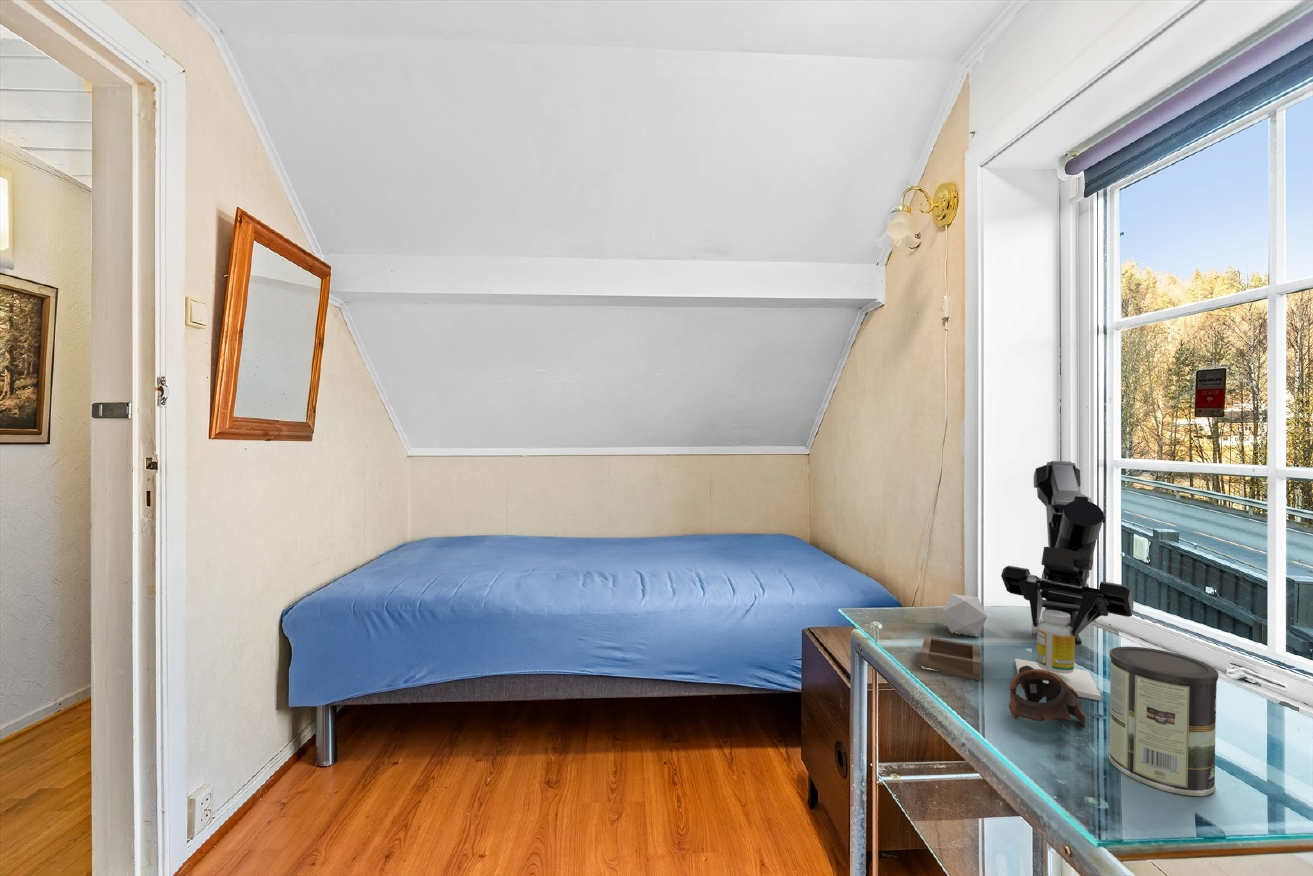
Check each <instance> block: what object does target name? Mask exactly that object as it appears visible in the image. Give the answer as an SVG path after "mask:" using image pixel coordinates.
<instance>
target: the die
mask: <svg viewBox="0 0 1313 876" xmlns="http://www.w3.org/2000/svg"><path fill="white" fill-rule="evenodd" d="M979 599H980V598H979V597H978V596H969V595H962V594H954V593H951V594H950V596H949V598H948V599H947V602H946V604H945V606H944V608H943V610H942V615H943V618H944V621H945V623H946V625H947V627H948V630H949V632H950V631H951V632H957V633H960V634H964V635H963V636H967V635H969V637H974V636H975V637H974V638H978V637H979V635H980V634H981V631H982V629H983V627H984V625H985V623H986V620H987V618H988V616H987V614H986V611H985V609H984V607H983V606H982V604H981V602H980V601H981V600H979ZM960 634H959V635H960Z"/></svg>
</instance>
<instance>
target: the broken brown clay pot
mask: <svg viewBox="0 0 1313 876" xmlns="http://www.w3.org/2000/svg"><path fill="white" fill-rule="evenodd" d="M1018 672H1019V674H1016V675H1015V676H1013V677H1012V679H1011V681H1010V683H1009V699H1010V700H1009V704H1008V709H1009V712H1010V715H1011V716H1012V718H1013V719H1014V720H1018V718H1021V719H1024V720H1025V719H1026V720H1029V721H1034V722H1039V723H1040V722H1042V723H1043V722H1045V721H1048V722H1050V721H1055V720H1059V719H1060V720H1061V719H1064V720H1067V721H1072V718H1071V716H1070V715H1072V716H1073V717H1074V718H1076V719H1077V720H1078V722H1079V723H1080V724H1081V726H1082V727H1083V728H1085V727H1086V715H1085V713H1084V711H1083V710H1082V708H1081V707H1082V706H1081V701H1080V700H1079V699H1078V694H1077V693H1076V691H1075V690H1074V689H1073V688H1072V687H1071V686H1069V685H1068V684H1067V683H1065V682H1064V681H1063V680H1062V679H1061V678H1060V677H1059V676H1058V675H1056V674H1054V673H1051V672H1050V671H1046V670H1041V669H1034V668H1032V667H1030V666H1027V665H1025V666H1023V667H1021V668H1020V669H1019V670H1018ZM1043 680H1045V681H1049V683H1048V684H1047V683H1044V682H1043ZM1020 684H1021V685H1020ZM1018 686H1021V689H1022V690H1023V693H1024V697H1025V698H1023V697H1022V696H1021V695H1020V694H1018V693H1017V691H1018V690H1017V689H1018ZM1044 698H1045V702H1041V701H1042V700H1043V699H1044Z"/></svg>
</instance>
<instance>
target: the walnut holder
mask: <svg viewBox="0 0 1313 876" xmlns="http://www.w3.org/2000/svg"><path fill="white" fill-rule="evenodd" d="M981 658H982V657H981V645H978V644H971V643H967V642H961V641H954V640H950V639H949V640H948V639H942V638H938V637H937V638H936V637H931V636H926V635H925V636H923V642H922V647H921V651H920V667H921V666H923V667H925V668H931V669H934V670H937V671H939V672H938V673H940V672H943V673H942V674H945V673H948V674H947V675H950V674H951V676H954V677H955V676H956V677H961V678H966V679H971V680H972V679H973V680H976V681H981V680H982V679H981V676H982V659H981Z"/></svg>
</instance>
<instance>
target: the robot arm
mask: <svg viewBox="0 0 1313 876" xmlns="http://www.w3.org/2000/svg"><path fill="white" fill-rule="evenodd" d="M1080 487H1082V486H1081V470H1080V469H1079V468H1078V467H1076V462H1072V461H1063V460H1062V461H1060V460H1059V461H1057V460H1056V461H1055V460H1051V461H1047V463H1046V464H1045V465H1042V466H1038V467H1036V468H1035V470H1034V473H1033V488H1034V489H1035V488H1036V492H1037V493H1036V494H1037V498H1038V499H1039V501H1041V503H1042V504H1043V505H1044V506H1045V508H1046V509H1045V510H1046V526H1047V527H1046V528H1047V542H1048V543H1047V544H1048V546H1044V547H1043V550H1042V551H1043V552H1042V558H1041V565H1042V566H1043V571H1042V574H1041V577H1039V576H1038V575H1035V574H1031V571H1030V569H1029V568H1025V567H1019V566H1013V565H1006V566H1005V567H1004V568H1003V569H1002V571H1001V575H1000V577H1001V580H1002V582H1003V584H1004V586H1005V589H1006V592H1007V593H1010V594H1012V595H1016V596H1017V595H1018V596H1020V597H1021V596H1022V597H1023V599H1024V600H1026V601H1029V606H1030V612H1031V620H1032V622H1031V623H1032V626H1033V628H1037V627H1038V624H1039V623H1040V618H1041V613H1042V611H1043V610H1042V609H1043V608H1044V610H1057V611H1062V612H1065V613H1068V614H1070V616H1071V622H1070V624H1068V625H1069V626H1071V627H1072V628H1073V629H1072V635H1073V636H1075V644H1082V643H1083V640H1082V638H1081V637H1080V633H1081V632H1082V631H1084V629H1085V628H1087V626H1089V625H1090V624H1091V623H1093V622H1094V621H1096V620H1097V619H1098V618H1099V617H1101V616H1102V617H1108V616H1109V614H1112V615H1116V616H1122V617H1127V618H1129V617H1133V612H1134V605H1135V604H1134V598H1133V595H1132V589H1130V587H1129V586H1128V585H1126V584H1120V583H1119V584H1118V583H1113V582H1107V581H1100V582H1099V586H1098V588H1096V587H1095V588H1094V587H1090V586H1089V583H1087V582H1088V579H1089V577H1090V574H1091V573H1090V571H1092V570H1093V565H1094V564H1093V563H1094V553H1095V549H1096V548H1095V547H1096V544H1097V540H1098V538H1099V535H1100V531H1101V528H1102V524H1103V523H1104V524H1105V523H1106V516H1105V513H1104V511H1103V510H1102V508H1101V507H1099V505H1097V504H1096V503H1094V502H1093V501H1092V498H1091V497H1089V496H1087V495H1085V494H1083V493H1082V492H1081V490H1080Z"/></svg>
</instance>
